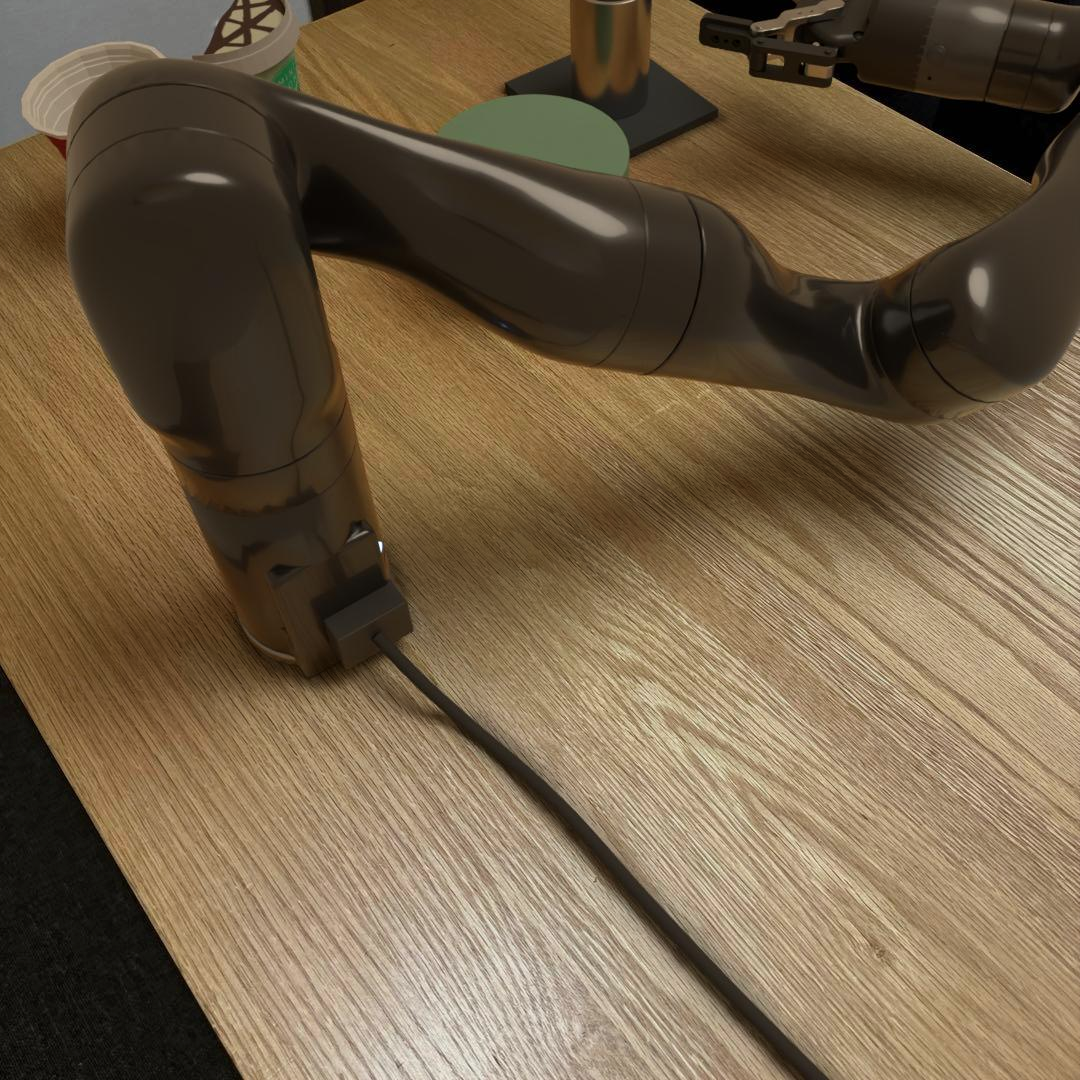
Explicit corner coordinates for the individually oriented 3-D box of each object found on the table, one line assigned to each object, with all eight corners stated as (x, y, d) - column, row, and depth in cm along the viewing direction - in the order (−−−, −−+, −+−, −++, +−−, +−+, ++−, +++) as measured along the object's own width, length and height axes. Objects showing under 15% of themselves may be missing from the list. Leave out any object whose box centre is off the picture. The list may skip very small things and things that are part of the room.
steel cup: (663, 103, 99) (669, -14, 91) (598, 129, 97) (598, 12, 89) (620, 66, 102) (622, -49, 94) (557, 91, 100) (553, -25, 92)
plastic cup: (61, 202, 95) (0, 66, 86) (190, 160, 98) (146, 23, 88) (96, 282, 90) (35, 145, 80) (232, 235, 92) (190, 97, 82)
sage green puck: (676, 268, 88) (683, 165, 81) (504, 356, 83) (496, 255, 76) (558, 167, 96) (555, 64, 88) (395, 242, 91) (378, 140, 84)
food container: (295, 177, 96) (268, 63, 88) (222, 171, 97) (189, 59, 89) (334, 88, 103) (312, -24, 95) (266, 84, 104) (239, -28, 96)
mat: (718, 116, 99) (718, 108, 98) (601, 171, 95) (601, 163, 94) (617, 42, 106) (617, 34, 105) (504, 90, 102) (504, 82, 102)
